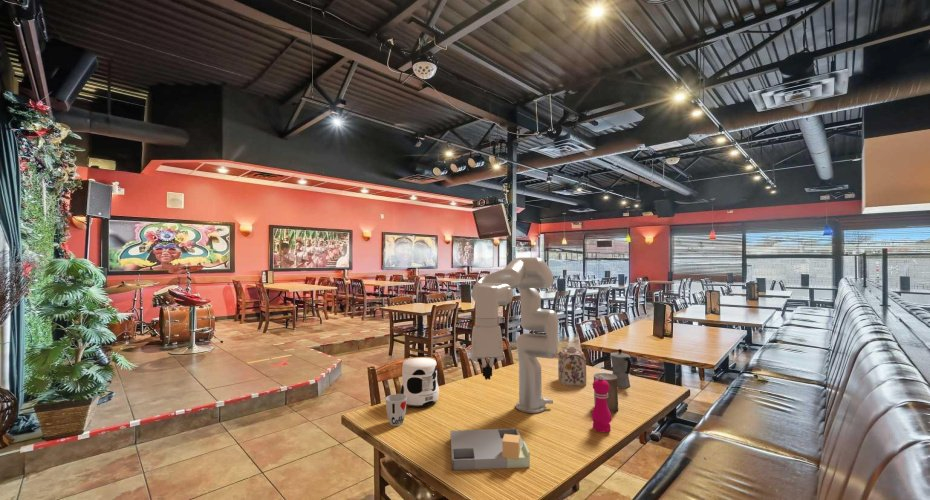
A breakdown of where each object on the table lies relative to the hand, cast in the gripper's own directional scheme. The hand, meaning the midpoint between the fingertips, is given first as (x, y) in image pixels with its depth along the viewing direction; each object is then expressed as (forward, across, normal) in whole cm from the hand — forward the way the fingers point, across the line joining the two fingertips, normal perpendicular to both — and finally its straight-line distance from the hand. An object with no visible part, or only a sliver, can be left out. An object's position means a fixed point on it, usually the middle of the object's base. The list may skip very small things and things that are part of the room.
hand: (487, 378), depth 126 cm
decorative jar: (+25, -52, -69) cm, 90 cm away
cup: (+25, +33, -27) cm, 50 cm away
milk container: (+25, +25, -48) cm, 60 cm away
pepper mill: (+25, -45, -16) cm, 54 cm away
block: (+22, -7, +6) cm, 24 cm away
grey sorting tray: (+25, 0, -2) cm, 25 cm away
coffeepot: (+25, -75, -62) cm, 101 cm away
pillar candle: (+25, -55, -35) cm, 70 cm away
